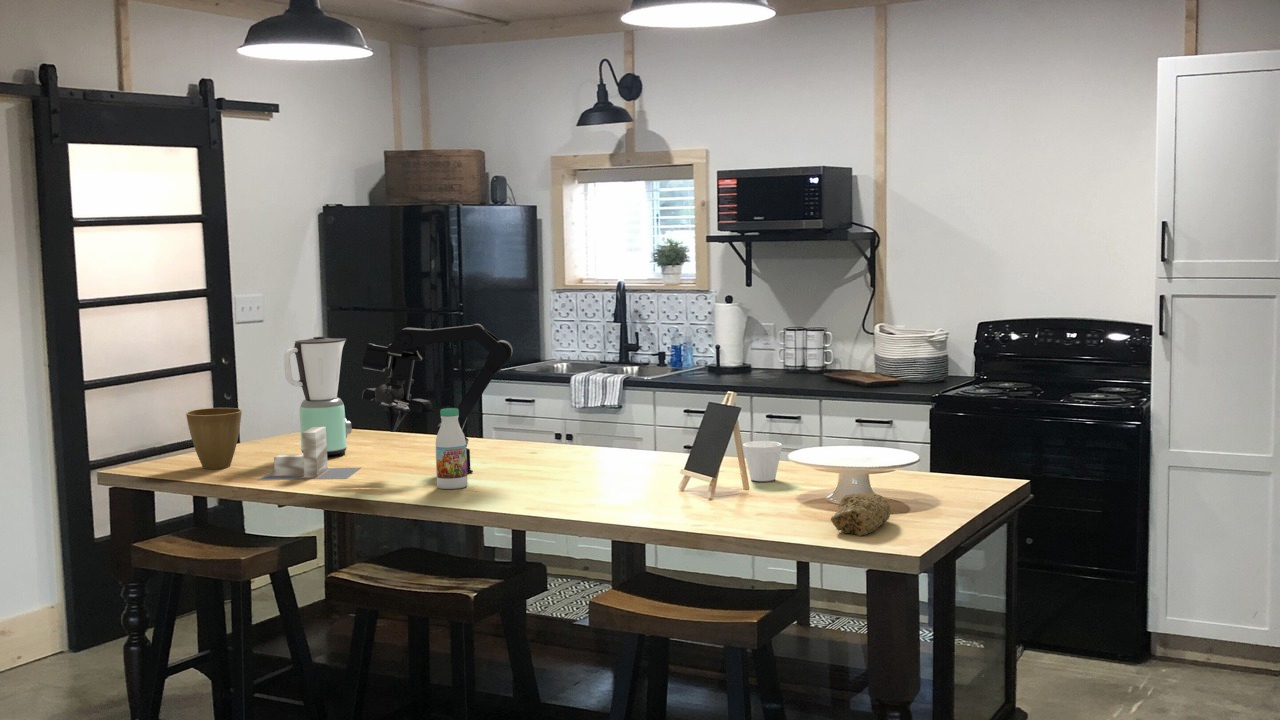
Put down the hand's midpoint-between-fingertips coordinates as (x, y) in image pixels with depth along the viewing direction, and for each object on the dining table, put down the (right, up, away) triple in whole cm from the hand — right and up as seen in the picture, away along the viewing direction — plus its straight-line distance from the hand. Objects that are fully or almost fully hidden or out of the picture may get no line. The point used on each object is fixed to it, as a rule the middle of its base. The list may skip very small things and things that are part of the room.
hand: (392, 431), depth 338 cm
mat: (-23, -12, +3) cm, 26 cm away
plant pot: (-53, -11, +20) cm, 58 cm away
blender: (-28, -9, +35) cm, 45 cm away
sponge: (+113, -16, -70) cm, 134 cm away
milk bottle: (+19, -13, -17) cm, 29 cm away
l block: (-26, -12, +3) cm, 28 cm away
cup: (+97, -11, -18) cm, 100 cm away
